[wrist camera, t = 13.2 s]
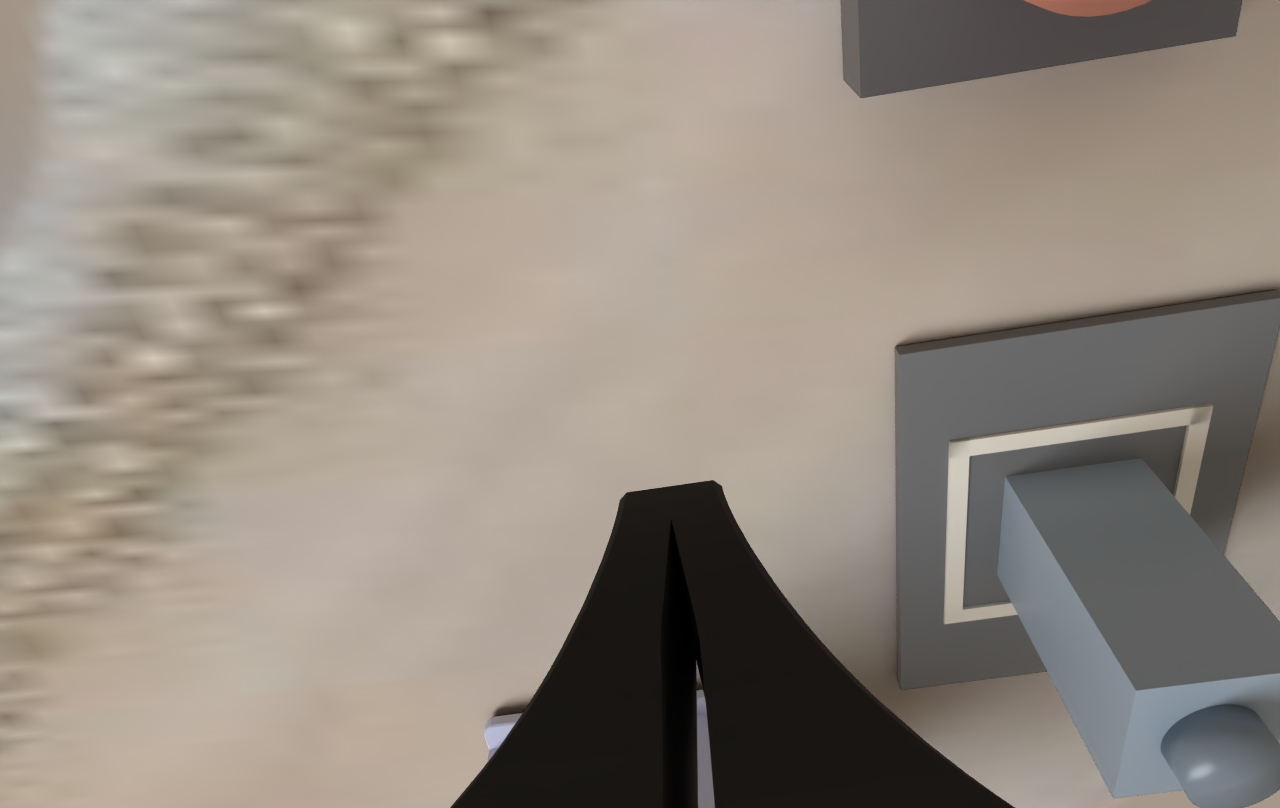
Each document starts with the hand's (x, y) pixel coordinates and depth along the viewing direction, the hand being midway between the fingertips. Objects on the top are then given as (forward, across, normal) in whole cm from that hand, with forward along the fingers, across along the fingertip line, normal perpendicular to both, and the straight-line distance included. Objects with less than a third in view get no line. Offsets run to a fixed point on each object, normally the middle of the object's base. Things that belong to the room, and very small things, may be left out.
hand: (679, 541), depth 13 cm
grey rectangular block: (+9, -10, +9) cm, 16 cm away
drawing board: (+9, -10, +9) cm, 16 cm away
